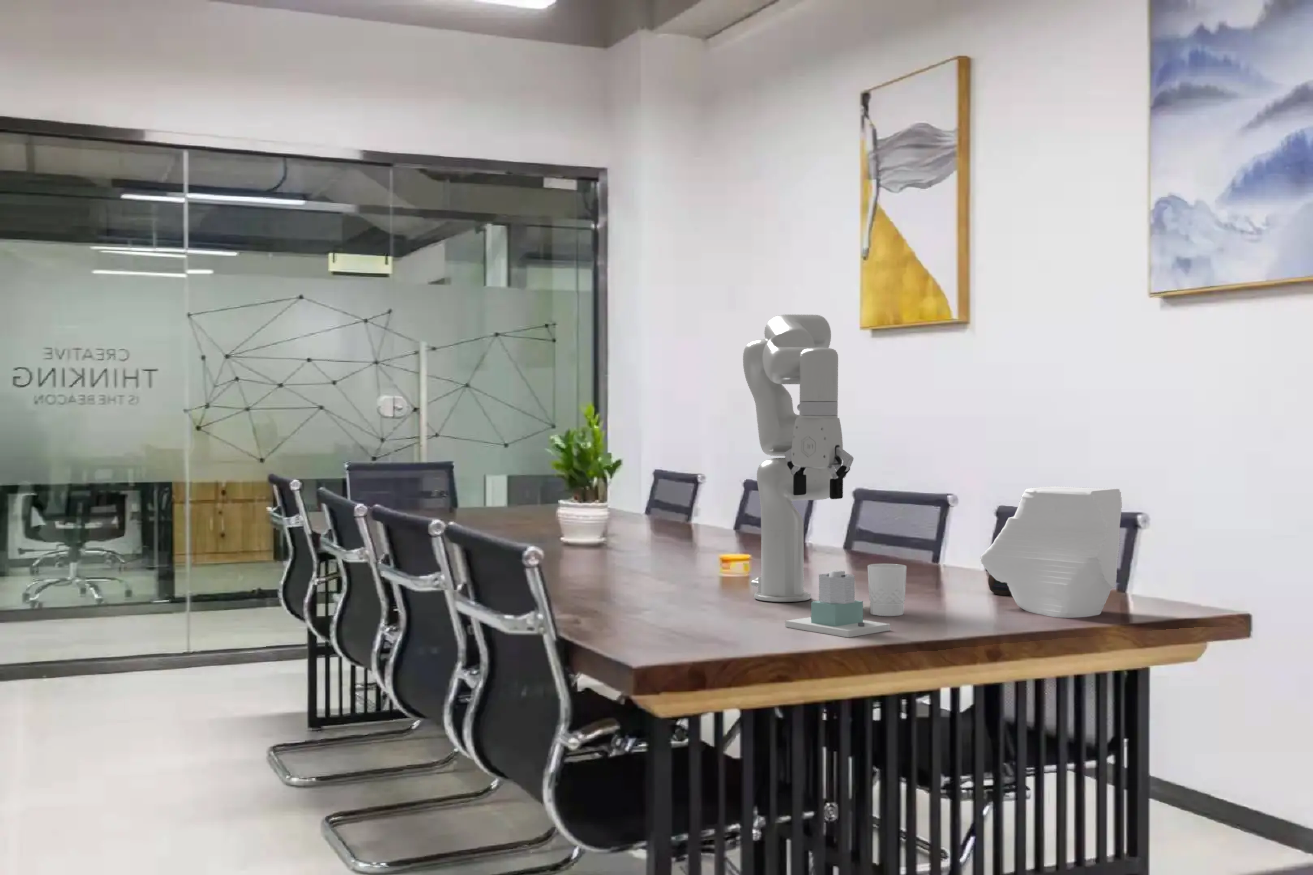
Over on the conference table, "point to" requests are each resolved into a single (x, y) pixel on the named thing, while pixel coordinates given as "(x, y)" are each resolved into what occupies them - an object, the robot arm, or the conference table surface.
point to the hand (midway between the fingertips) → (817, 496)
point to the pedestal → (837, 618)
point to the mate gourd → (998, 586)
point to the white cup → (887, 589)
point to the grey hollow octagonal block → (836, 589)
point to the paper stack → (1059, 550)
